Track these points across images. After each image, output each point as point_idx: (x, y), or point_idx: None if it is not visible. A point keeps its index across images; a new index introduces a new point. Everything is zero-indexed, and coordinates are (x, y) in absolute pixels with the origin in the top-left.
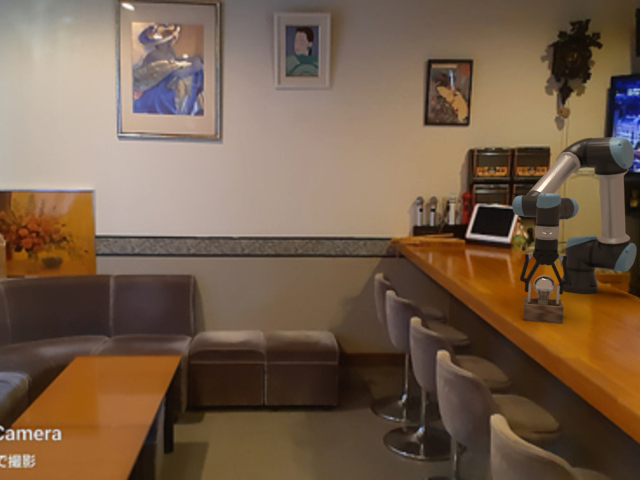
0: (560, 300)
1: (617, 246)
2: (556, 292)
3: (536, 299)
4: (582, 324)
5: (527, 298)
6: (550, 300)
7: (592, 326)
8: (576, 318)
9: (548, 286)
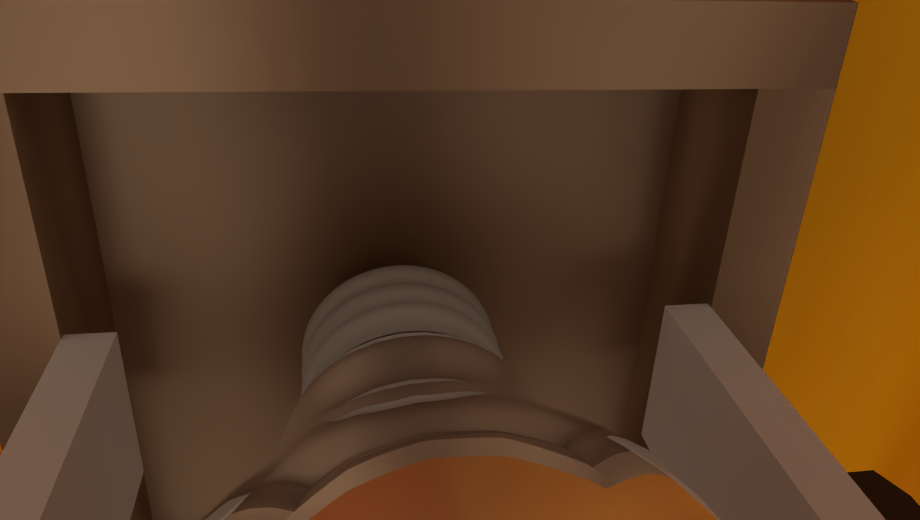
0: (815, 126)
1: None
2: (764, 502)
3: (262, 82)
4: (836, 396)
5: (24, 186)
6: (600, 79)
7: (913, 432)
8: (878, 130)
9: None
